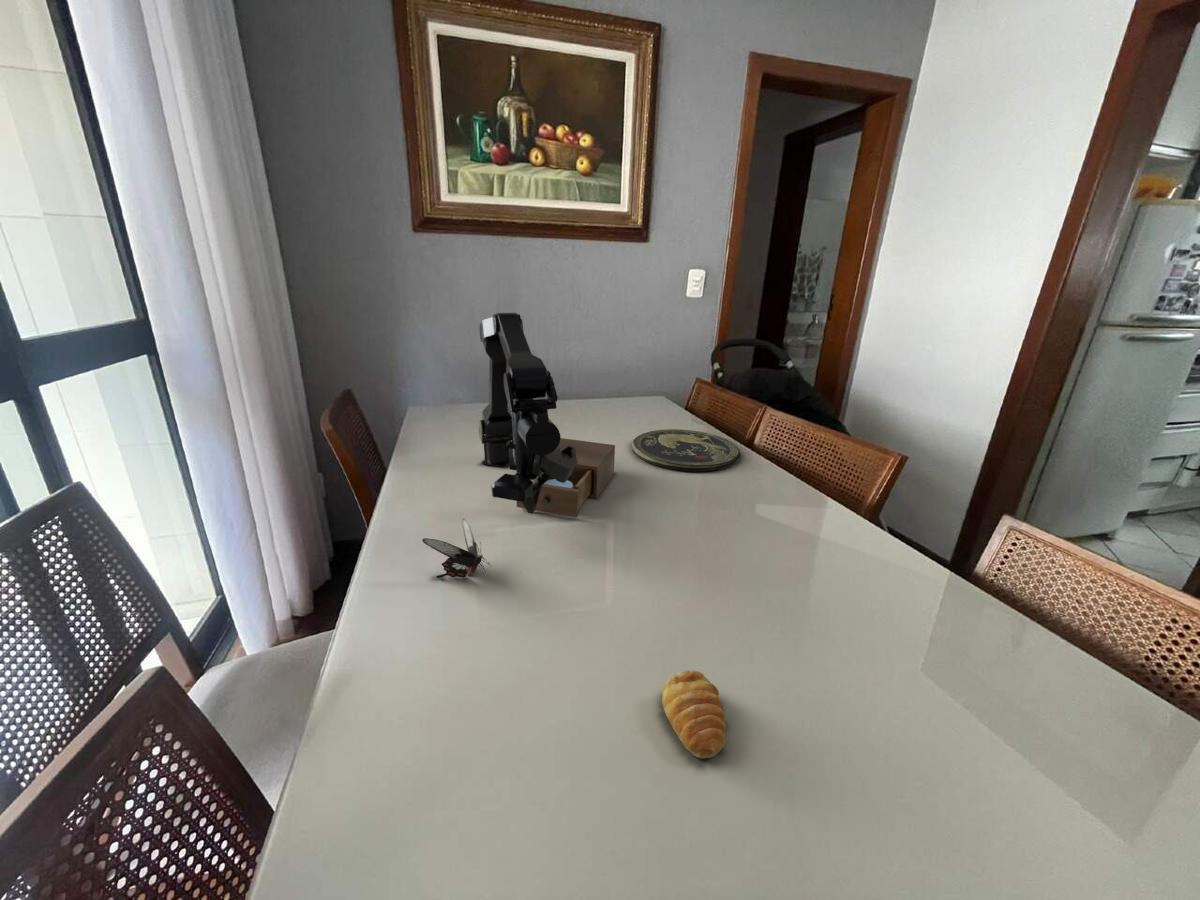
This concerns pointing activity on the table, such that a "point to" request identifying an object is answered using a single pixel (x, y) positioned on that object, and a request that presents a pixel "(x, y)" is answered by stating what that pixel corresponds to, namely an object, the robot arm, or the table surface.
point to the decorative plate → (686, 450)
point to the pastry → (695, 713)
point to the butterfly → (458, 554)
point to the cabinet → (593, 460)
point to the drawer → (565, 494)
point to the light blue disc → (559, 483)
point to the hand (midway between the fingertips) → (531, 512)
